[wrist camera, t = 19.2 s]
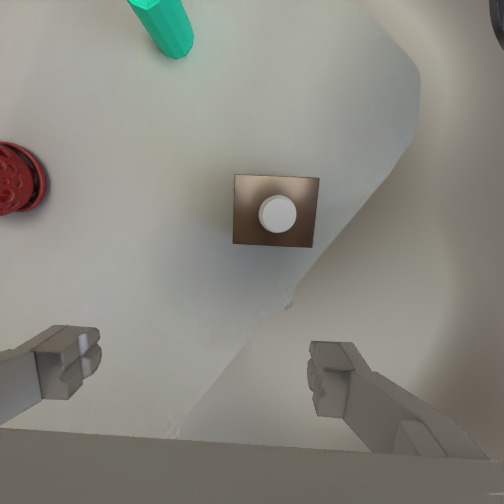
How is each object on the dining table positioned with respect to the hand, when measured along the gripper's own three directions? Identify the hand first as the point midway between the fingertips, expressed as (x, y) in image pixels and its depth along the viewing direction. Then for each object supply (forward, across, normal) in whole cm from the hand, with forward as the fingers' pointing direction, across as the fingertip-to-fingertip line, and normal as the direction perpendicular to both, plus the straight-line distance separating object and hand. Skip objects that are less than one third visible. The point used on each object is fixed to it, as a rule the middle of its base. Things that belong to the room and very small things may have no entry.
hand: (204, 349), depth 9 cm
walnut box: (+35, -4, -4) cm, 36 cm away
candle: (+36, +13, -30) cm, 48 cm away
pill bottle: (+28, -4, -4) cm, 29 cm away
